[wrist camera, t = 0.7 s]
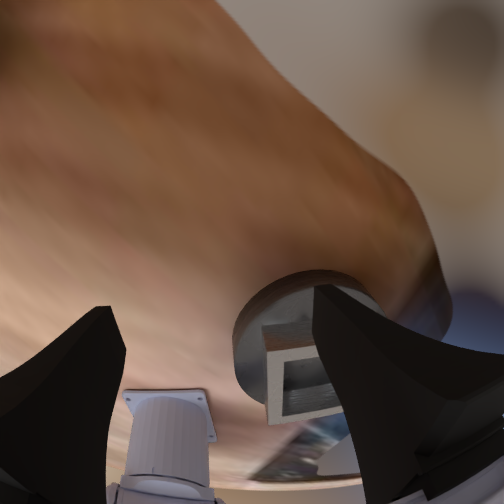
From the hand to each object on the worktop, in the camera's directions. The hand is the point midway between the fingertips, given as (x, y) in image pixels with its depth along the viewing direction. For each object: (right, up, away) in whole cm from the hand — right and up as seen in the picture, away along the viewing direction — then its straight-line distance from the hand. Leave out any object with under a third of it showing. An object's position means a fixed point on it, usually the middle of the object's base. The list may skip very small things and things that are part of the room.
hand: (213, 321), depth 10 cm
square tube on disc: (+6, -4, +13) cm, 15 cm away
